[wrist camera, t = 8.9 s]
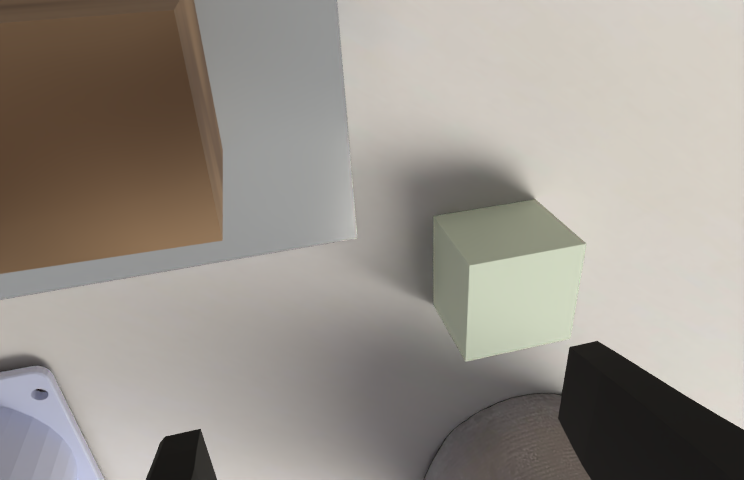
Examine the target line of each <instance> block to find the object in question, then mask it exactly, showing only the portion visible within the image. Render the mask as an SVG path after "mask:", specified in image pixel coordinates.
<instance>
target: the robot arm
mask: <svg viewBox="0 0 744 480" xmlns="http://www.w3.org/2000/svg"><path fill="white" fill-rule="evenodd" d="M36 389H43V390H46V391H47V392H40V391H37V390H36ZM558 420H559V422H560V424H561V426H562V428H563V430H564V432H565V434H566V436H567V438H568V440H569V442H570V444H571V446H572V447H573V449H574V451H575V453H576V455H577V457H578V459H579V461H580V462H581V464H582V466H583V468H584V469H585V471H586V472H587V474H588V475H589V477H590V478H591V480H744V430H743V429H741V428H740V427H738V426H736V425H734V424H733V423H731V422H729V421H727V420H726V419H724V418H722V417H720V416H719V415H717V414H715V413H714V412H712V411H710V410H709V409H707V408H705V407H704V406H702V405H700V404H699V403H697V402H695V401H694V400H692V399H690V398H689V397H687V396H685V395H684V394H682V393H680V392H679V391H677V390H676V389H674V388H672V387H671V386H669V385H668V384H666V383H664V382H663V381H661V380H660V379H658V378H656V377H655V376H653V375H652V374H650V373H648V372H647V371H645V370H644V369H642V368H640V367H639V366H637V365H636V364H634V363H632V362H631V361H629V360H628V359H626V358H624V357H623V356H621V355H620V354H618V353H616V352H615V351H613V350H611V349H610V348H608V347H606V346H605V345H603V344H601V343H600V342H598V341H595V342H591V343H586V344H582V345H577V346H573V347H570V348H569V354H568V360H567V366H566V372H565V378H564V384H563V390H562V396H561V403H560V409H559V415H558ZM0 480H105V479H104V477H103V475H102V473H101V471H100V469H99V467H98V465H97V463H96V461H95V459H94V457H93V455H92V453H91V451H90V449H89V447H88V445H87V443H86V441H85V439H84V437H83V435H82V433H81V431H80V428H79V426H78V424H77V422H76V420H75V418H74V416H73V414H72V412H71V410H70V408H69V406H68V404H67V402H66V400H65V398H64V396H63V394H62V392H61V390H60V388H59V386H58V384H57V382H56V380H55V377H54V375H53V374H52V372H51V371H50V370H49V369H47V368H45V367H41V366H30V367H25V368H19V369H14V370H9V371H4V372H0ZM146 480H217V478H216V475H215V472H214V469H213V466H212V463H211V460H210V457H209V454H208V450H207V447H206V444H205V441H204V438H203V435H202V432H201V429H198V430H193V431H189V432H184V433H180V434H175V435H171V436H166V437H165V438H164V439H163V440H162V441H161V442H160V444H159V447H158V450H157V452H156V455H155V458H154V460H153V463H152V465H151V468H150V470H149V473H148V475H147V478H146Z"/></svg>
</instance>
